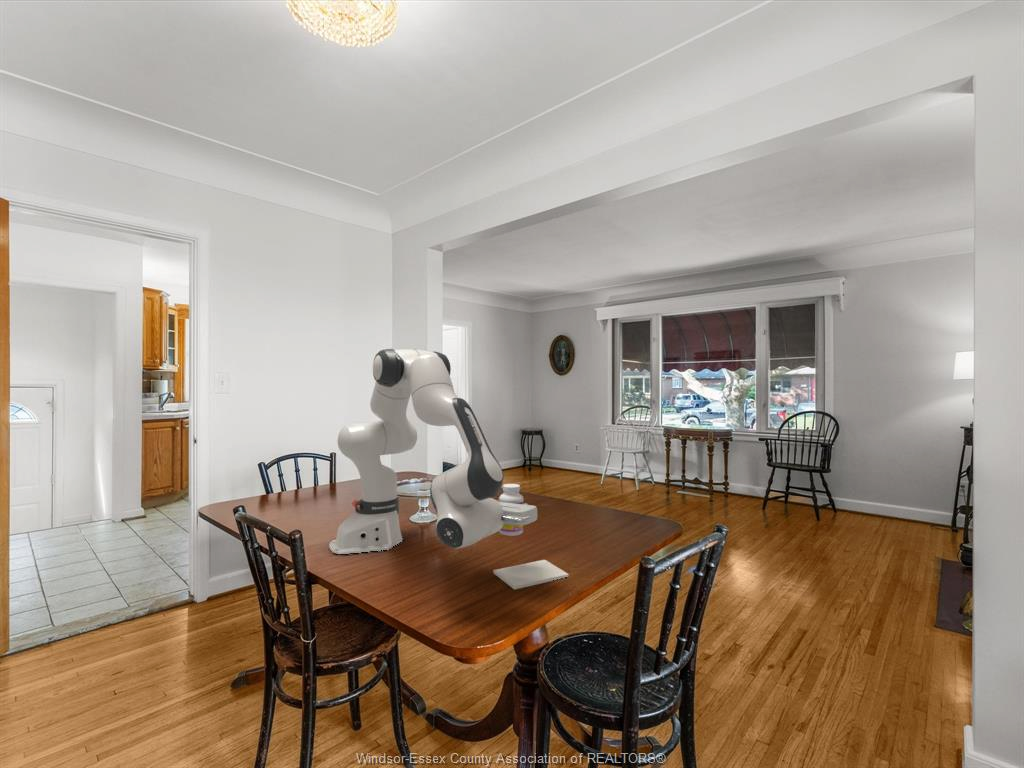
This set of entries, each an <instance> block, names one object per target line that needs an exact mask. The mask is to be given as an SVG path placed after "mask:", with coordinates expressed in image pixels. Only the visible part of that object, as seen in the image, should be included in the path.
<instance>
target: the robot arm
mask: <svg viewBox="0 0 1024 768" xmlns="http://www.w3.org/2000/svg"><path fill="white" fill-rule="evenodd" d="M451 371H452V368H451V362H450V360H449V358H448V356H447V355H446V354H444V353H442V352H438V351H434V350H433V351H429V350H423V349H417V348H416V349H415V348H413V349H406V348H404V349H393V348H386V349H381V350H379V351H378V352H377V353H375V356H374V359H373V363H372V375H373V378H374V379H373V380H375V383H374V387H373V391H372V395H371V399H370V401H369V404H370V410H371V412H372V413H373V414H374V415H375V416H376V417H377V418H378V419H380V420H378V421H364V422H355V423H351V424H348V425H344V426H343V427H342V428H341V429H340V431H339V433H338V436H337V446H338V448H339V451H340V452H341V454H343V456H344V457H346V458H348V459H350V461H351V462H352V463H353V464H354V465H355V467H356V469H357V471H358V473H359V477H360V487H361V499H359V500H357V499H353V500H352V501H351V505H352V506H353V507H354V509H355V512H354V513H352V514H351V515H350V516H349V517H348V518H347V519H346V520H344V521H343V522H342V523H340V525H339V526H338V529H337V532H336V533H337V534H336V539H332V541H330V542H329V545H328V549H329V548H330V550H331V551H332V552H334V553H337V554H349V553H359V554H362V553H361V552H368V553H371V552H370V551H378V552H384V551H383V550H387V551H390V550H391V549H392V548H393V546H394V547H396V546H398V545H400V544H401V543H403V541H402V540H404V539H403V535H402V532H401V531H402V530H401V528H400V527H401V526H400V522H399V514H400V512H399V511H400V500H399V497H398V475H397V474H396V472H395V471H394V469H393V468H391V467H389V466H386V465H385V464H382V461H381V456H388V455H394V454H395V455H397V454H401V453H405V452H408V451H411V450H412V449H414V447H415V446H416V444H417V441H418V431H417V429H416V427H415V425H414V424H413V422H411V421H409V420H408V418H407V410H408V409H407V408H408V405H409V401H410V397H411V401H412V407H413V409H414V413H415V415H416V417H417V418H418V419H419V420H421V421H422V422H423V423H425V424H428V425H430V426H435V427H449V426H455V428H456V429H457V431H458V434H459V436H460V438H461V441H462V443H463V445H464V447H465V450H466V453H467V458H466V459H465V461H464V462H461V463H459V464H457V465H456V466H454V467H452V468H449V469H447V470H445V471H444V472H441V473H440V474H438V475H435V477H434V478H433V479H432V481H431V484H430V488H429V496H430V499H431V500H430V501H431V503H432V506H433V509H434V511H435V512H436V514H437V520H436V524H435V532H436V536H437V538H438V540H439V541H440V542H441V543H442V545H444V546H446V547H448V548H450V549H463V548H466V547H469V546H471V545H474V544H476V543H478V542H479V541H481V540H482V539H484V538H487V537H489V536H491V535H494V534H495V533H497V532H499V530H500V529H501V528H502V526H503V524H504V523H505V524H512V525H523V526H524V525H529V524H531V523H533V522H535V521H537V520H538V508H537V506H536V505H534V504H533V505H532V504H531V505H530V504H529V503H526V502H525V503H524V502H523V503H522V504H514V503H506V502H499V499H498V500H496V499H495V498H493V497H496V496H497V495H499V493H500V491H501V489H502V487H503V482H504V472H503V469H502V467H501V465H500V463H499V461H498V460H497V458H496V457H495V456H494V453H493V452H492V450H491V448H490V446H489V444H488V441H487V439H486V436H485V434H484V432H483V430H482V428H481V426H480V424H479V422H478V418H477V417H476V415H475V413H474V411H473V409H472V408H471V406H470V405H469V403H468V401H466V400H465V399H463V398H461V397H458V396H457V394H456V391H455V389H454V385H453V382H452V378H451ZM400 542H401V543H400ZM399 543H400V544H399ZM397 544H398V545H397ZM395 545H396V546H395ZM389 549H390V550H389ZM330 550H329V551H330ZM381 550H382V551H381ZM331 551H330V552H331ZM332 552H331V553H332ZM349 555H350V554H349Z"/></svg>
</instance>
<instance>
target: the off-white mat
mask: <svg viewBox="0 0 1024 768" xmlns="http://www.w3.org/2000/svg"><path fill="white" fill-rule="evenodd" d="M493 574H494V575H495V576H497V577H498V578H499V579H500V580H501V581H503V582H504V583H506V584H507V586H509V587H511V588H512V589H513V590H519V589H523V588H527V587H532V586H535V585H540V584H545V583H549V582H554V581H557V579H558V580H562V579H565V577H567V578H569V575H570V574H569V573H567V572H566V571H564V570H563V569H561V568H559V567H558V566H556V565H555V564H553V563H551V562H549V561H548V560H546V559H541V560H536V561H532V562H531V561H530V562H527V563H521V564H518V565H512V566H507V567H502V568H497V569H493ZM561 578H562V579H561ZM553 580H554V581H553Z"/></svg>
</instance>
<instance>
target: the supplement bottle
mask: <svg viewBox="0 0 1024 768" xmlns="http://www.w3.org/2000/svg"><path fill="white" fill-rule="evenodd" d="M520 490H521V485H520V484H517V483H505V484H502V491H503V493H501V494H500V495H499V498H498V500H499V502H506V503H514V504H522V503H524V496H523V495H522V494H520ZM498 532H499V533H500V534H501V535H505V536H512V537H513V536H519V535H521V534H522V533H523V532H524V525H512V524H505V523H504V524H503V526H502V528H501V529H500V530H499V531H498Z"/></svg>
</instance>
